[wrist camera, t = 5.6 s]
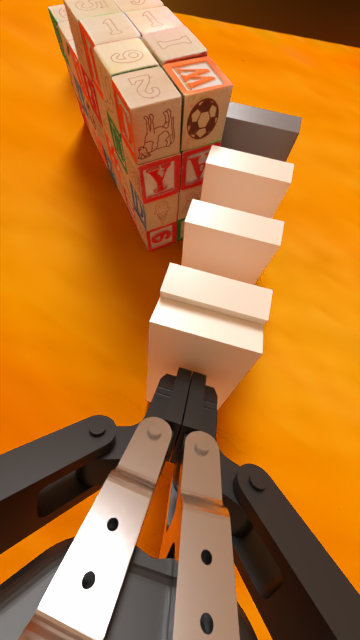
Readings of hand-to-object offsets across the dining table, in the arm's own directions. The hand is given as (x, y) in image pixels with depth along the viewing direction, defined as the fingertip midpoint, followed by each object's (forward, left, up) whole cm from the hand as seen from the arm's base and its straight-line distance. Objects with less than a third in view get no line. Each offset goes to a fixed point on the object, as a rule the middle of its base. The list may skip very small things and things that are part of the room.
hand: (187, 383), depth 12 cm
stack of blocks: (-11, +22, -7) cm, 26 cm away
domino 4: (0, +4, -7) cm, 8 cm away
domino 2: (0, +13, -7) cm, 14 cm away
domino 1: (0, +17, -7) cm, 19 cm away
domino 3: (0, +8, -7) cm, 11 cm away
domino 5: (0, -1, -7) cm, 7 cm away
